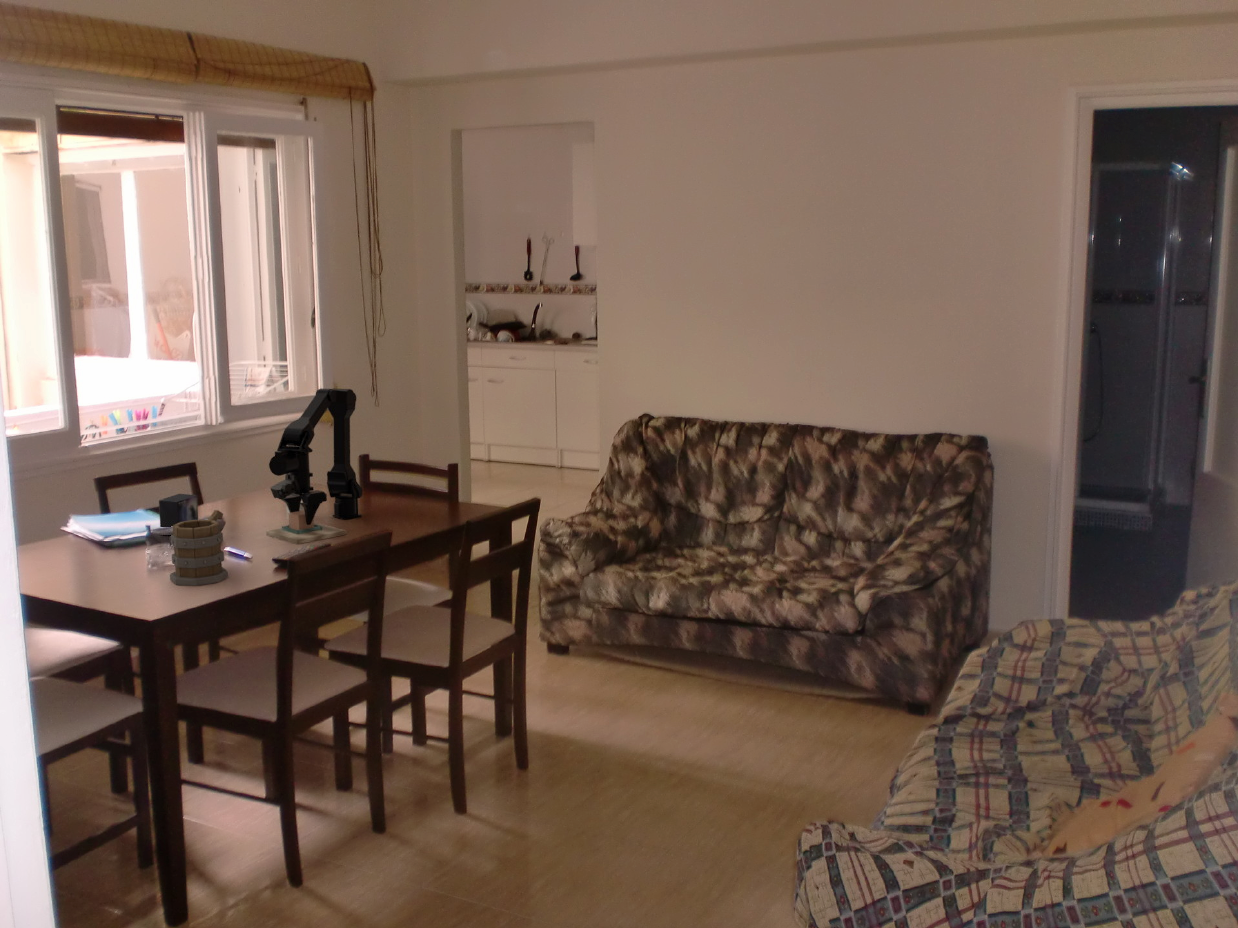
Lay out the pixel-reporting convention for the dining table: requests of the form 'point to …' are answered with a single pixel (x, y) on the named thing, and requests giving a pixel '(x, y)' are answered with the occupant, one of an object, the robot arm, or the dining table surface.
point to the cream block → (289, 511)
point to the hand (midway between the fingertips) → (301, 522)
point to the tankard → (198, 552)
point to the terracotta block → (299, 521)
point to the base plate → (305, 533)
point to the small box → (178, 509)
